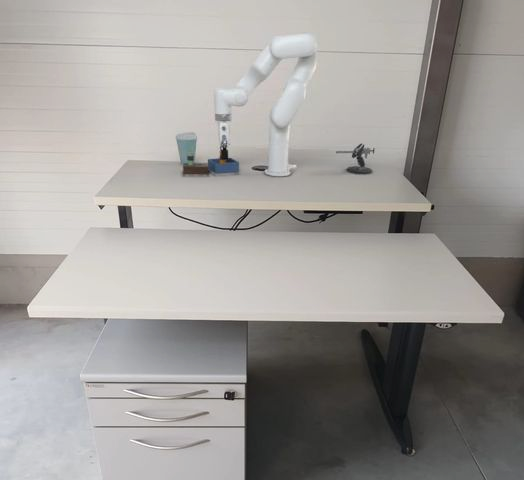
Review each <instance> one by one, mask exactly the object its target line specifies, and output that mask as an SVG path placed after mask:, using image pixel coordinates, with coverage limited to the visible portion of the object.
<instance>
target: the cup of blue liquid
mask: <svg viewBox="0 0 524 480" xmlns="http://www.w3.org/2000/svg"><path fill="white" fill-rule="evenodd" d="M197 139H198V136H197V134H196V132H193V131H191V132H190V131H189V132H187V131H186V132H181V133H177V134H176V135H175V140H176V144H177V151H178V154H179V160H180V164H181V165H183V163H188V160H187V152H193V156H194V163H196V152H197V141H198V140H197Z"/></svg>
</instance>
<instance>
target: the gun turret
mask: <svg viewBox="0 0 524 480" xmlns="http://www.w3.org/2000/svg"><path fill="white" fill-rule="evenodd" d="M375 149H376V148H375V147H373V149H371V148H370V147H365V144H363V143H359V144H358V145H357V146H356V147H355V148H354V149H353V150H337V151H335V153H336V154H351V158H352V159H355V158H356V161H357V164H358V166H357V165H356V166H348V167H347V168H346V171H347V172H348V173H352V174H356V175H368V174H371V173H372V171H373V169H371V168H370V167H366V163H365V159H368V155H371V152H372V154H375ZM363 155H364V157H363ZM364 158H365V159H364Z"/></svg>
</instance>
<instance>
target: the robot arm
mask: <svg viewBox="0 0 524 480" xmlns="http://www.w3.org/2000/svg"><path fill="white" fill-rule="evenodd" d="M317 48H318V41H317V38H316V36H315V35H314V34H313V33H311V32H301V33H295V34H283V35H280V34H277V35H275V36H273V37H272V38H271V39H270V41H269V42H268V43H267V44H266V45H265V46H264V48H263V49H262V51H261V52H260V53H259V54H258V56H257V57H256V58H255V59H254V61H253V62H252V64H251V65H250V66H249V68H248V69H247V70H246V72H245V73H244V74H243V75H242V77H241V78H240V79H239V80H238V82H237V83H236V84H235V86H234V87H233V88H229V87H225V86H224V87H223V86H222V87H215V88H214V91H213V98H214V99H213V100H214V122H216V123H217V133H218V135H217V136H218V142H219V149H220V150H219V152H220V151H221V159H228V158H229V150H228V146H230V145H231V128H230V127H231V125H230V123H231V122H232V106H233V107H240V108H241V107H244V106H245V105H247V103H248V102H249V101H248V100H249V97H250V96H251V94H252V93H253V91H255V89H256V88H257V87H258V86H259V85H260V84H261V83H263V82H265V80H267V78H268V77H269V76H270V75H271V74H272V72H273V71H274V70H275V69H276V67H277V66H278V65H279V64H280V63H281V61H282V60H284V59H285V60H286V59H287V60H288V59H296V58H297V62H296V64H295V66H294V68H293V70H292V72H291V73H290V75H289V77H288V79H287V81H286V82H285V84H284V85H283V88H282V94H281V96H280V97H279V99H278V101H276V102H274V103H273V104H272V106H271V107H270V109H269V128H268V129H269V132H268V134H269V135H268V157H267V160H268V161H267V168H266V169H265V170H264V174H265V175H267V176H271V177H287V176H290V175H291V170H296V169H297V168H298V167H297V164H290V163H289V150H290V136H291V135H290V133H291V123H292V122H293V120H294V118H295V117H296V115H297V114H298V112H299V110H300V109H301V106H302V105H303V103H304V101H305V99H306V96H307V86H308V85H309V83H310V82H311V79H312V77H313V76H314V73H315V72H316V68H317V65H318V49H317Z"/></svg>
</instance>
